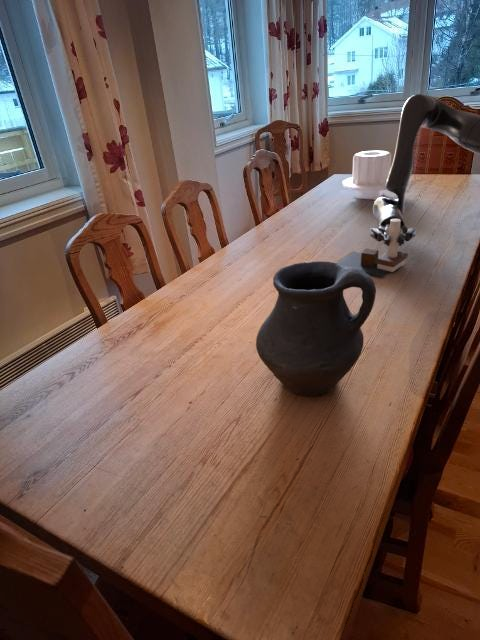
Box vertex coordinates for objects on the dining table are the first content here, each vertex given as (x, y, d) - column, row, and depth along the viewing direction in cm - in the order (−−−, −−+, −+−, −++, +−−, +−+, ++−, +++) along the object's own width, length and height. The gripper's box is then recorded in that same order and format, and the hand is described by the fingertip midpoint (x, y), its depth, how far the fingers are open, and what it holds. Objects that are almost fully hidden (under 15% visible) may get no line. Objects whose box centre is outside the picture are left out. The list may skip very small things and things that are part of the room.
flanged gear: (404, 191, 203) (408, 148, 193) (388, 205, 185) (392, 159, 176) (353, 188, 216) (355, 148, 206) (333, 201, 198) (334, 158, 189)
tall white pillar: (390, 259, 135) (394, 214, 127) (406, 262, 131) (411, 217, 124) (376, 268, 130) (379, 222, 123) (392, 272, 126) (397, 225, 119)
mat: (399, 263, 133) (399, 261, 132) (380, 277, 126) (380, 275, 125) (353, 253, 143) (353, 251, 142) (333, 265, 136) (333, 264, 135)
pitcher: (277, 345, 100) (271, 243, 87) (374, 358, 92) (383, 248, 79) (246, 402, 83) (233, 287, 71) (360, 424, 76) (369, 299, 63)
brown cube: (377, 262, 134) (378, 250, 132) (373, 266, 131) (374, 254, 129) (365, 260, 136) (365, 248, 134) (360, 265, 133) (361, 252, 131)
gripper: (369, 212, 138) (370, 230, 123) (415, 211, 134) (422, 230, 120) (367, 234, 142) (368, 254, 127) (413, 234, 138) (419, 255, 124)
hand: (394, 242), depth 124 cm, fingers closed on tall white pillar, 3 cm apart
